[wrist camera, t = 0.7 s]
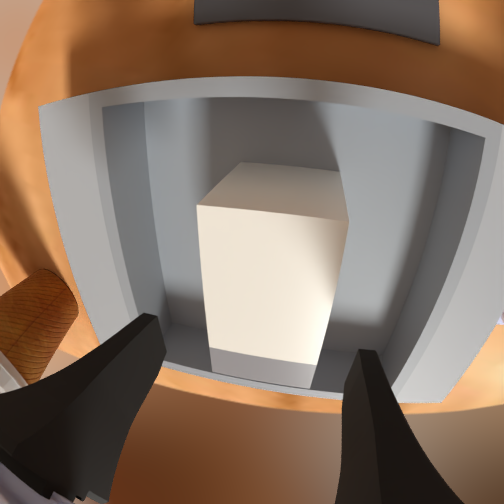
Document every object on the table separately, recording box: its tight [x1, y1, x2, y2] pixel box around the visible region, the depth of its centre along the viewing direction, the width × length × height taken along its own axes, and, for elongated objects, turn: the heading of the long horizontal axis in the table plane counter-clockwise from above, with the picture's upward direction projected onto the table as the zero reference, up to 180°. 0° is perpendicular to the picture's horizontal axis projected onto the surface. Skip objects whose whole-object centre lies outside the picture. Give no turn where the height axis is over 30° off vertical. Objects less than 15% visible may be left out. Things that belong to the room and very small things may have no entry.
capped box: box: [197, 162, 349, 389], centre depth 14 cm, size 5×9×6 cm, turn 179°
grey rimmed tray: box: [39, 76, 504, 403], centre depth 15 cm, size 26×18×4 cm
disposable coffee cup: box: [0, 269, 78, 394], centre depth 21 cm, size 10×10×12 cm
